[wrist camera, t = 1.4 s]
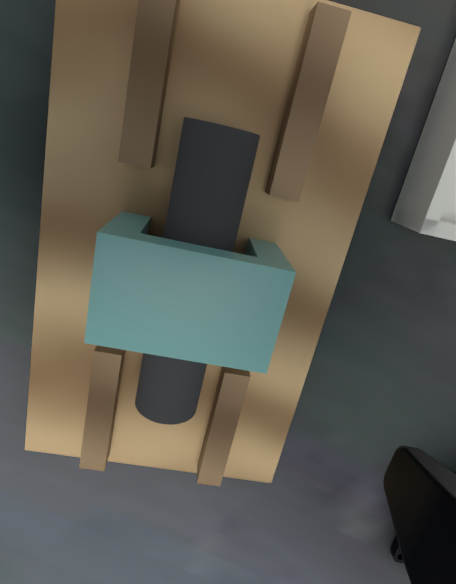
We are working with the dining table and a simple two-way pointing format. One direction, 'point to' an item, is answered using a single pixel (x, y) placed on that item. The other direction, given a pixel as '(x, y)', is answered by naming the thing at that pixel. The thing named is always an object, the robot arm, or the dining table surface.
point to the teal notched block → (186, 297)
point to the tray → (433, 167)
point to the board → (157, 189)
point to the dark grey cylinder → (201, 231)
